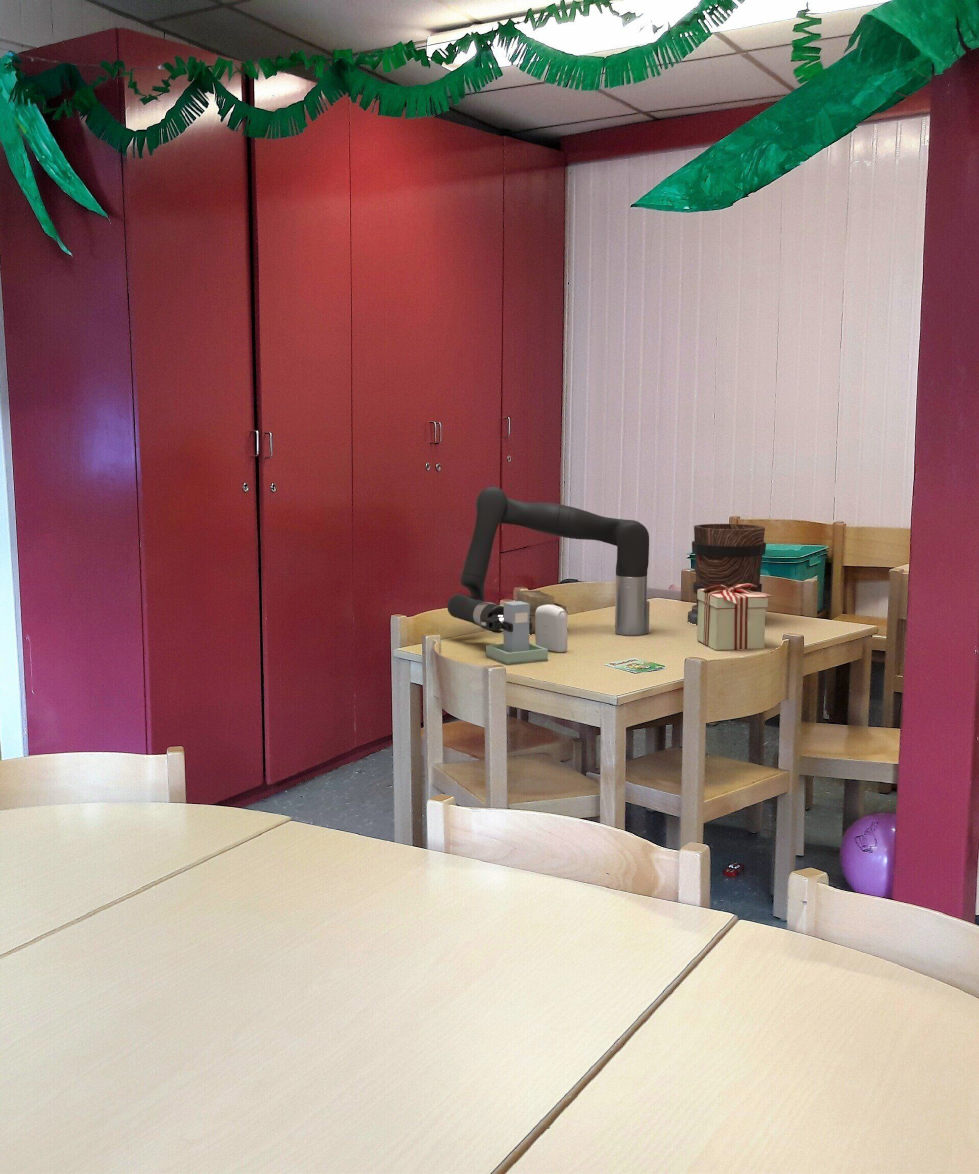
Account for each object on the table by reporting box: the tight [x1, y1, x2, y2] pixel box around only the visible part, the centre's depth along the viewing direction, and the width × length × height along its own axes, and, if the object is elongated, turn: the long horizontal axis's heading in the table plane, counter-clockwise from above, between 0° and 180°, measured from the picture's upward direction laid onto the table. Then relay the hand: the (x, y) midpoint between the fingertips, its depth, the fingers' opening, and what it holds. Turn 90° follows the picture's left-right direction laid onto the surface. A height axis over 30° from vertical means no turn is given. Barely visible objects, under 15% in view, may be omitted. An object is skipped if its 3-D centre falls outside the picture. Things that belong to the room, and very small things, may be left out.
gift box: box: [696, 583, 775, 651], centre depth 299 cm, size 17×18×17 cm
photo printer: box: [534, 605, 568, 653], centre depth 295 cm, size 10×4×12 cm, turn 39°
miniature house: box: [516, 589, 569, 636], centre depth 323 cm, size 15×14×11 cm
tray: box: [485, 642, 549, 666], centre depth 284 cm, size 12×12×3 cm
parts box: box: [503, 600, 530, 653], centre depth 283 cm, size 5×5×13 cm
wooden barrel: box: [687, 523, 767, 625], centre depth 337 cm, size 24×30×30 cm
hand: (521, 627), depth 281 cm, fingers closed on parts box, 5 cm apart
